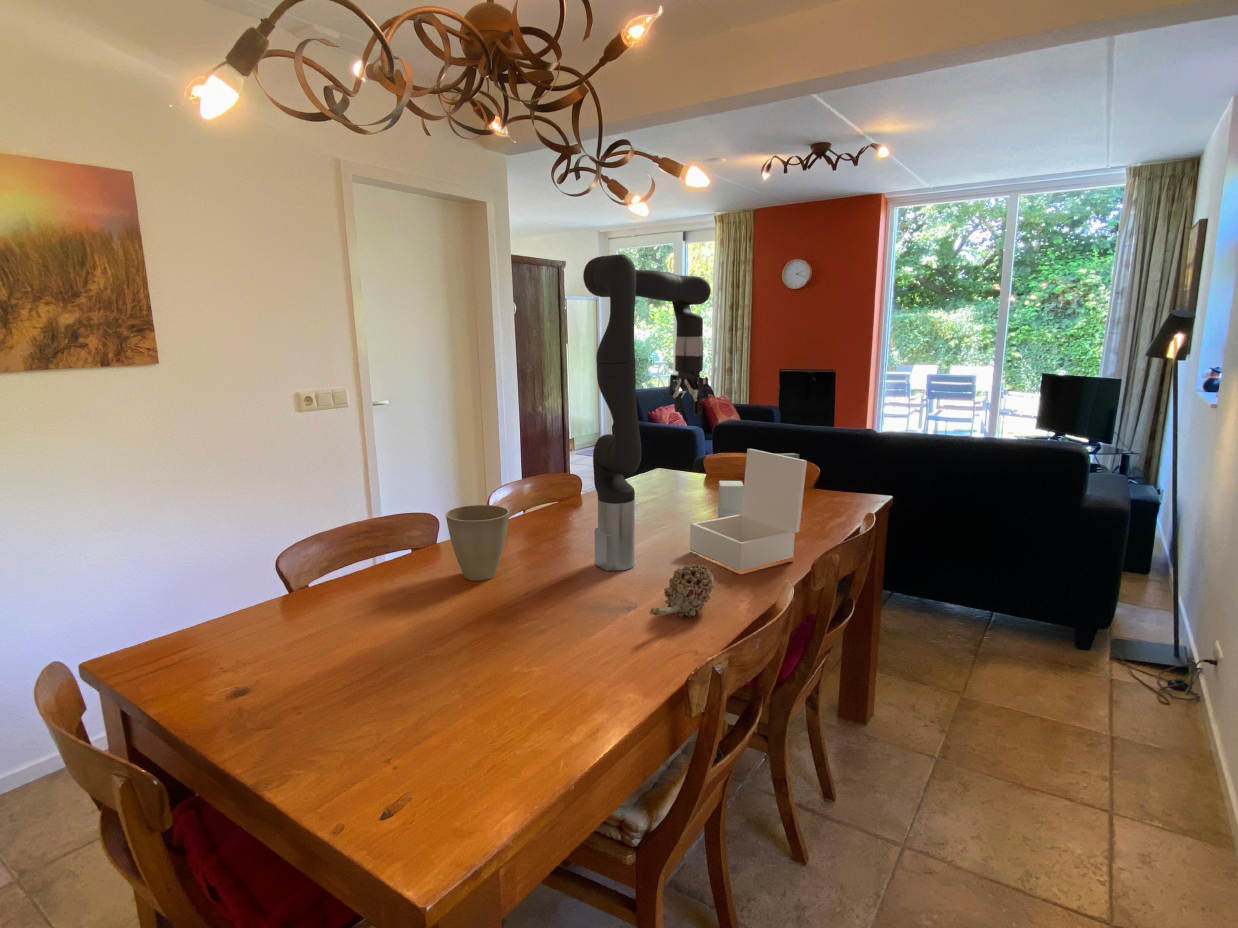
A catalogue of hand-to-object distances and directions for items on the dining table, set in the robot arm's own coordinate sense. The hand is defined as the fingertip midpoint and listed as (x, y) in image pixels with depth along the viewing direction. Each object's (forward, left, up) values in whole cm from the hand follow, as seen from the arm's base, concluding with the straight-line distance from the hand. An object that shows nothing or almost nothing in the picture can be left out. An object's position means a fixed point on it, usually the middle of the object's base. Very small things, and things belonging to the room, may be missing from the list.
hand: (687, 413), depth 180 cm
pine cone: (-33, -42, -36) cm, 65 cm away
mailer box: (+3, -20, -36) cm, 41 cm away
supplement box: (+22, +6, -36) cm, 43 cm away
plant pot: (-60, +3, -36) cm, 70 cm away
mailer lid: (+13, -20, -19) cm, 30 cm away
